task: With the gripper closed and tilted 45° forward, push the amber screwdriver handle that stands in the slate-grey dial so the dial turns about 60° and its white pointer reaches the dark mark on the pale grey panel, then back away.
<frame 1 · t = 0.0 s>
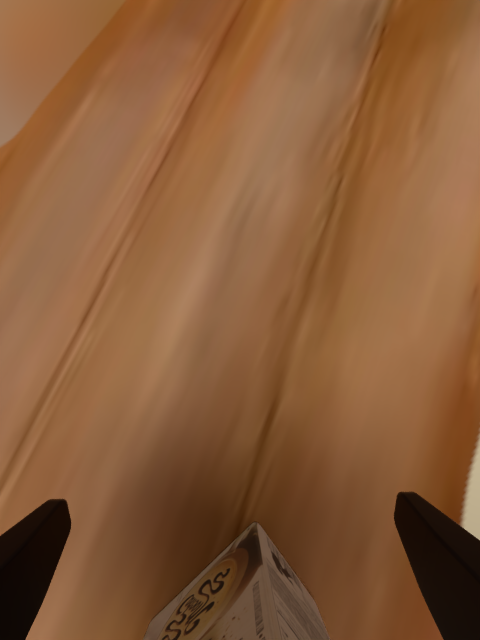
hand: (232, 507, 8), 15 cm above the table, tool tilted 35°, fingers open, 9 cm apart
coffee box: (234, 608, 20), on the table
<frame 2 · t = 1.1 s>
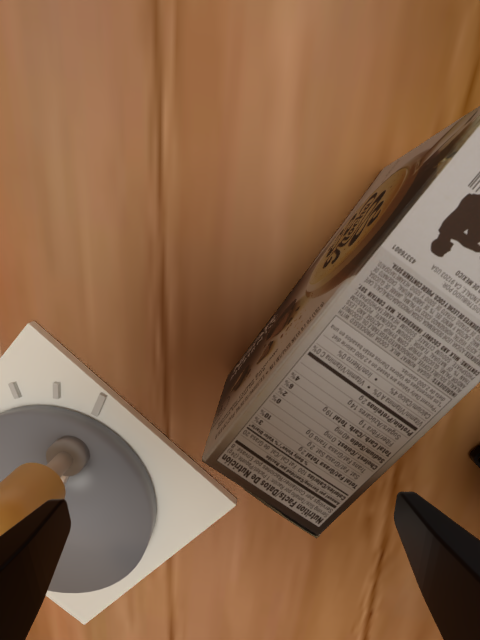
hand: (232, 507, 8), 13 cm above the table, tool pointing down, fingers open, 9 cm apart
panel: (64, 488, 25), on the table
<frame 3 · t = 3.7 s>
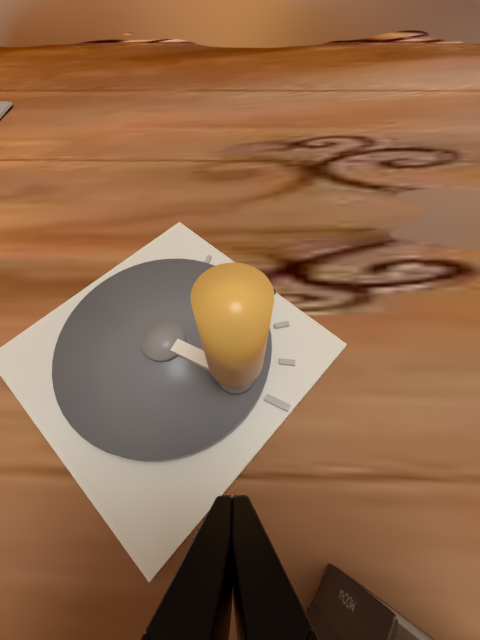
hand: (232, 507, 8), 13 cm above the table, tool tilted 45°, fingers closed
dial: (148, 311, 19), point 7 cm above the table, hinge at 0.0°
panel: (170, 353, 25), on the table
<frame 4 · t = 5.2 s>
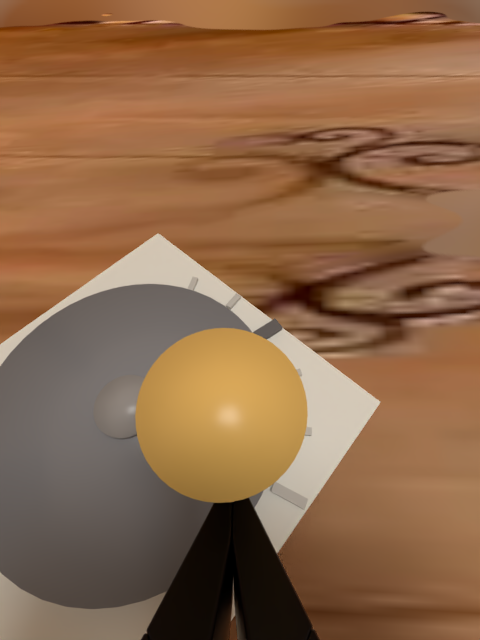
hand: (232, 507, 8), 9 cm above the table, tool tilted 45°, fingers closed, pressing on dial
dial: (93, 381, 12), point 7 cm above the table, hinge at 3.1°, touching gripper
panel: (140, 415, 18), on the table
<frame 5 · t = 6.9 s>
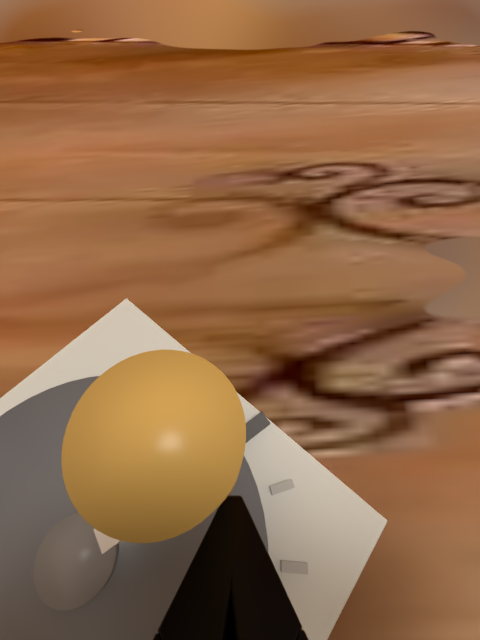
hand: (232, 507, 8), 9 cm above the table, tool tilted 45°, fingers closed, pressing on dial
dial: (15, 582, 9), point 7 cm above the table, hinge at 57.6°, touching gripper
panel: (100, 547, 15), on the table
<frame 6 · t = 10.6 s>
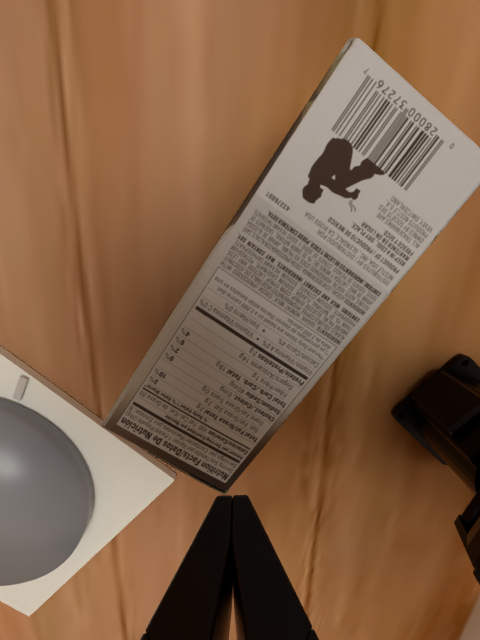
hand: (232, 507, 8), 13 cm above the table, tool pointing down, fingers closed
coffee box: (374, 136, 13), point 5 cm above the table
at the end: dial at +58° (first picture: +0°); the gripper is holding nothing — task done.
